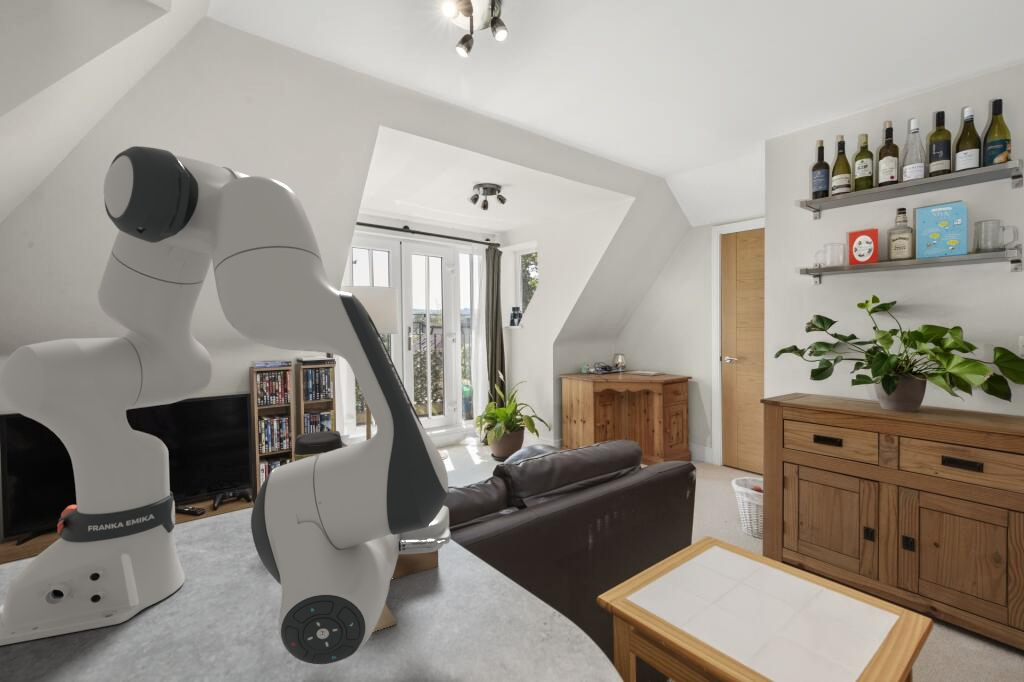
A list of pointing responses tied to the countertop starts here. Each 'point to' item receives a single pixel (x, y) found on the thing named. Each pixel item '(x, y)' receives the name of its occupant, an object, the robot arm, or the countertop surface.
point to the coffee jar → (316, 443)
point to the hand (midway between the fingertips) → (380, 507)
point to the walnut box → (415, 563)
